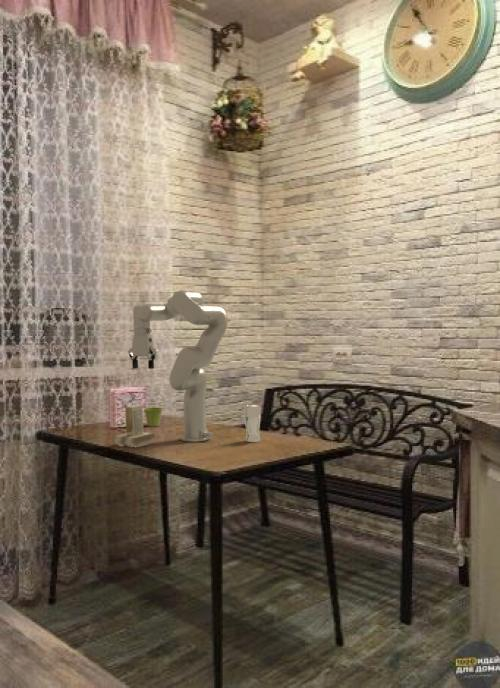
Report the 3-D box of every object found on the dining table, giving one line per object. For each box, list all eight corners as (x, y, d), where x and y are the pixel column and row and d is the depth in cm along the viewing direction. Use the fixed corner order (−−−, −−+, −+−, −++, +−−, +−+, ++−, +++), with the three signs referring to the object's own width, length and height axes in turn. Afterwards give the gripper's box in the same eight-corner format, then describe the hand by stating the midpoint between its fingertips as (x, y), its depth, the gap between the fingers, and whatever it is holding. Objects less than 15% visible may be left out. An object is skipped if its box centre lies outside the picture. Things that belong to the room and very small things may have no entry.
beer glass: (259, 442, 249) (258, 406, 249) (243, 442, 250) (242, 406, 250) (262, 439, 256) (261, 404, 255) (246, 439, 257) (245, 404, 257)
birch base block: (154, 442, 255) (154, 433, 255) (135, 447, 245) (135, 438, 245) (133, 440, 261) (133, 431, 261) (114, 445, 251) (113, 436, 251)
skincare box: (136, 433, 257) (136, 404, 256) (144, 433, 254) (143, 405, 254) (125, 435, 251) (124, 406, 251) (132, 436, 249) (131, 407, 249)
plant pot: (165, 424, 305) (164, 407, 304) (160, 427, 295) (159, 409, 295) (147, 424, 306) (146, 407, 305) (142, 427, 296) (141, 410, 296)
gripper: (161, 331, 277) (162, 368, 278) (133, 332, 286) (134, 367, 287) (151, 331, 271) (152, 369, 271) (122, 332, 280) (123, 368, 280)
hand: (143, 368), depth 279 cm, fingers open, 9 cm apart
